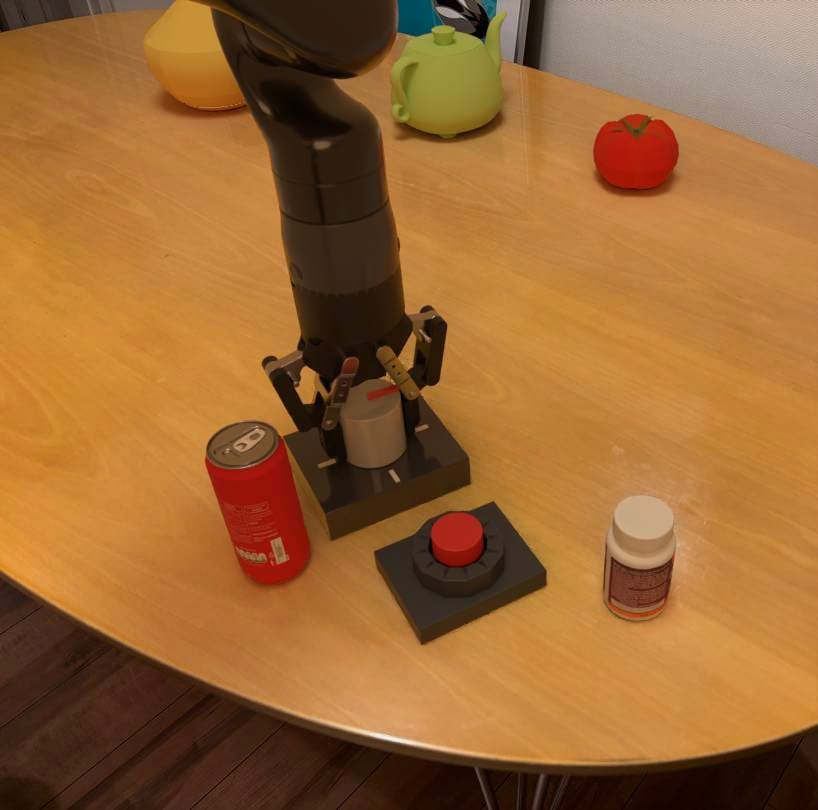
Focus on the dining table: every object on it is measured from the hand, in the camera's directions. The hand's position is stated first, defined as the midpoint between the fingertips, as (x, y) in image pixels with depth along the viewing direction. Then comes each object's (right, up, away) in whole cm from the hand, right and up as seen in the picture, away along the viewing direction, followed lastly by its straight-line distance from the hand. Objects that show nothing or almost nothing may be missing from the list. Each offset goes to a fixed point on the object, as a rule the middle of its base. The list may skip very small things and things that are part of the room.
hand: (372, 440), depth 71 cm
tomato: (+25, +32, +43) cm, 59 cm away
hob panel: (0, -3, +2) cm, 3 cm away
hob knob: (0, 0, 0) cm, 0 cm away
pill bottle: (+20, -11, -7) cm, 24 cm away
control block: (+8, -10, -6) cm, 14 cm away
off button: (+8, -7, -8) cm, 13 cm away
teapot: (+1, +44, +58) cm, 73 cm away
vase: (-35, +49, +63) cm, 88 cm away
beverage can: (-6, -9, -5) cm, 12 cm away
